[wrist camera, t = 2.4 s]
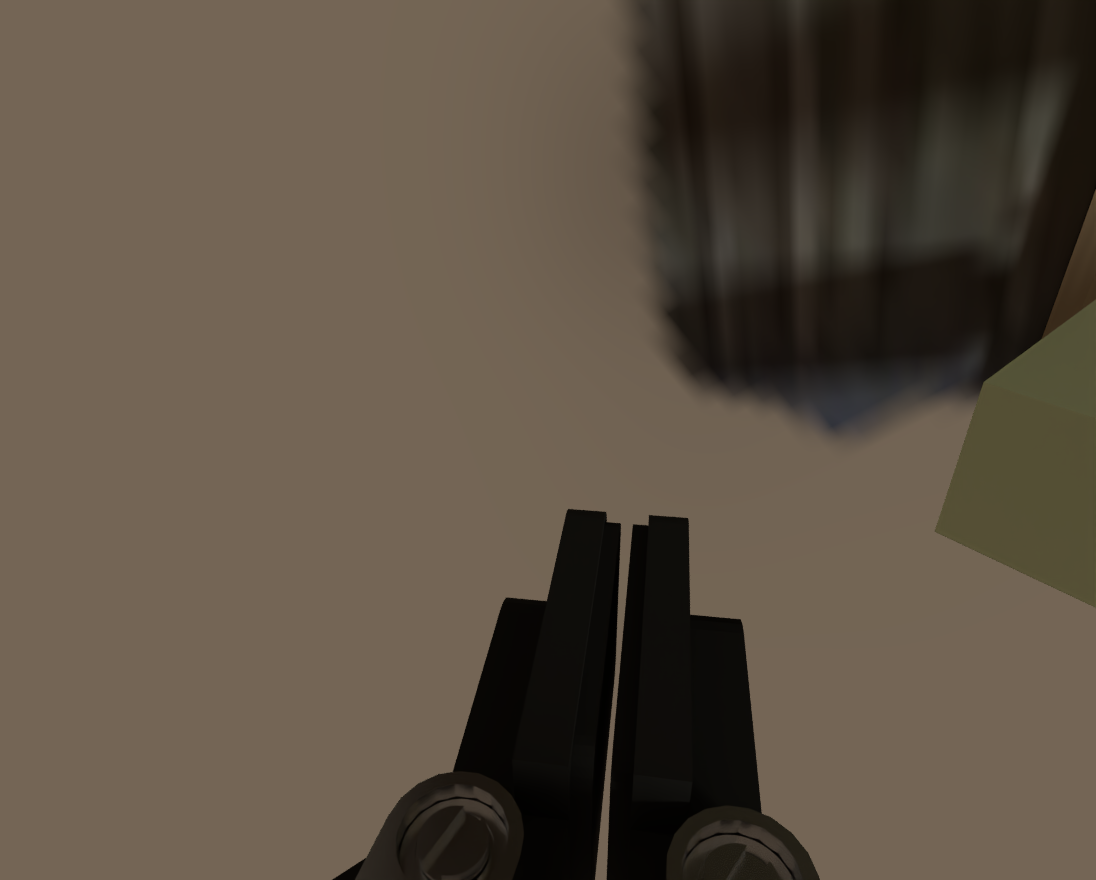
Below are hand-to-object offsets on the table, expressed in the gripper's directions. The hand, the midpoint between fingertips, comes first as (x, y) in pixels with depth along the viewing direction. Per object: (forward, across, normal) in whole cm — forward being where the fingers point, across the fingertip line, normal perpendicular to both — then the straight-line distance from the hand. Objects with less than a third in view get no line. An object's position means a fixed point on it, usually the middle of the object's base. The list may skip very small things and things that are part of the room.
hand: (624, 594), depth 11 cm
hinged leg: (+12, -14, -1) cm, 18 cm away
